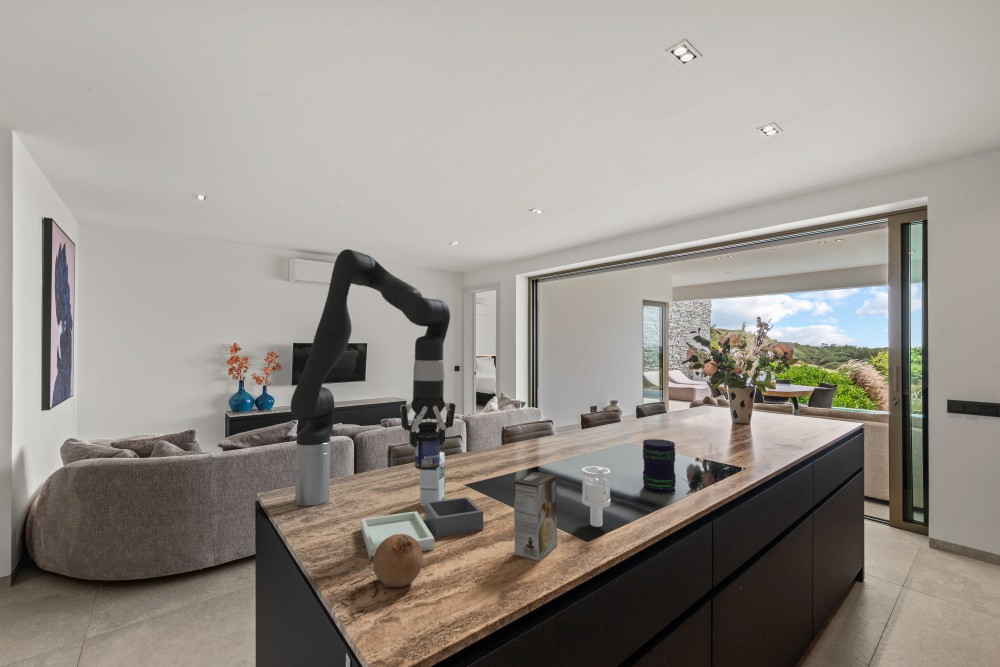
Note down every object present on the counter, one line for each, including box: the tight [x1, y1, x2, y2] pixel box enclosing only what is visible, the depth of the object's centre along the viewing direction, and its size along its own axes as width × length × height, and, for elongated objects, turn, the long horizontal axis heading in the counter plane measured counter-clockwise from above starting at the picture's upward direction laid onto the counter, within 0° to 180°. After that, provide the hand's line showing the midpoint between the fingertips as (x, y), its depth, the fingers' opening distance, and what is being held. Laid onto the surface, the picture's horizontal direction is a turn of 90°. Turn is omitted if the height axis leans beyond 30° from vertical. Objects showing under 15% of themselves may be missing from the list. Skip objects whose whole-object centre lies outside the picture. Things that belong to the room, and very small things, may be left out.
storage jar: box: [642, 438, 677, 495], centre depth 144 cm, size 10×10×15 cm
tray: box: [360, 511, 435, 562], centre depth 107 cm, size 14×18×2 cm
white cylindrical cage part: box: [581, 465, 611, 528], centre depth 116 cm, size 7×7×15 cm
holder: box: [423, 496, 484, 538], centre depth 116 cm, size 12×12×4 cm
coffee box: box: [513, 471, 558, 562], centre depth 102 cm, size 9×6×16 cm
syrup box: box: [419, 451, 446, 507], centre depth 131 cm, size 6×6×14 cm
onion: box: [372, 534, 424, 588], centre depth 88 cm, size 10×9×10 cm
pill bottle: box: [414, 421, 441, 470], centre depth 113 cm, size 6×6×11 cm
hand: (427, 445), depth 113 cm, fingers closed on pill bottle, 6 cm apart
